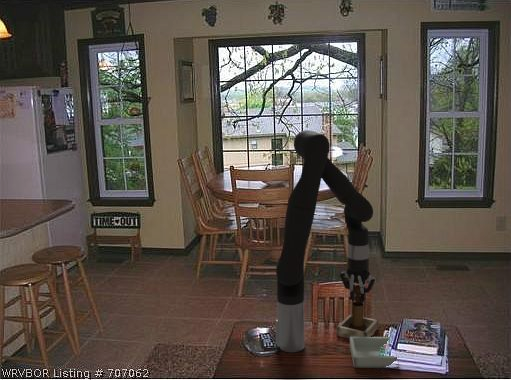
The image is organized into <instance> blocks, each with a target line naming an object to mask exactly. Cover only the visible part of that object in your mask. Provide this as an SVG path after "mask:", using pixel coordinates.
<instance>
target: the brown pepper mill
mask: <svg viewBox="0 0 511 380" xmlns="http://www.w3.org/2000/svg"><path fill="white" fill-rule="evenodd" d="M354 292H355V294H356V297H355V300H354V301H352V307H351V308H352V309H351V311H352V314H351V315H352V323H351V324H350V325H349V327H348V328H351V329H355V330H359V331H363V332H365V331H366V330H367V327H366V325H364V324H363V317H364V307H365V306H364V302H363V303H360V293H361V290H360V287H359V284H356V286H355V287H354Z"/></svg>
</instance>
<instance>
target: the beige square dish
mask: <svg viewBox="0 0 511 380" xmlns="http://www.w3.org/2000/svg"><path fill="white" fill-rule="evenodd" d="M351 323H352V314H348V316H347V317H346V318H345V319H344V320H342V322H340V323H339V324H338V325H337V326H336V336H337V337H341V338H346V339H349V340H350V337H371V336H372V337H373V335H374V334H375V333H376V332H377V331H378V330H377V329H379V320H378V319H375V318H369V317H366V316H365V317H364V316H363V324H364V325H366V327H367V330H366V331H365V332H363V331H359V330H355V329H351V328H349V325H350V324H351ZM376 330H377V331H376ZM375 331H376V332H375ZM374 332H375V333H374Z"/></svg>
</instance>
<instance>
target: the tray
mask: <svg viewBox="0 0 511 380" xmlns="http://www.w3.org/2000/svg"><path fill="white" fill-rule="evenodd" d="M390 337H391V336H372V337H350V339H349V349H350V354H351V359H352V364H353V368H358V369H359V368H363V369H364V368H367V369H369V368H370V369H372V368H373V369H384V368H383V367H386V366H389V365H391V364H392V363H393V362H394V361H395V360H396V359H397V357H394V356H379V353H380V347H381V346H382V345H384V344H386V343H387V341H388V340H389V341H390Z"/></svg>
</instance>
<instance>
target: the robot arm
mask: <svg viewBox="0 0 511 380" xmlns="http://www.w3.org/2000/svg"><path fill="white" fill-rule="evenodd" d="M293 147H294V151H295V153H296V154H297V155H298V156H299V157H300V158H302V159H303V162H302V163H303V164H302V169H301V170H302V171H301V174H300V177H299V179H298V181H297V183H296V185H295V186H294V188H293V189H292V190H291V193H290V194H289V198H288V200H287V207H286V211H285V219H284V231H283V232H284V233H283V234H284V235H283V245H282V248H281V253H280V257H279V258H278V259H277V261H276V268H275V273H276V281H277V283H276V285H277V286H276V302H277V303H276V305H277V308H276V309H277V319H276V320H275V323H274V324H275V325H274V326H275V345H276V344H277V345H279V347H280V349H279V350H280V351H282V352H286V353H298V352H300V351H303V350H304V349H305V347H306V346H305V345H306V344H305V343H306V341H305V340H306V339H305V337H306V335H305V266H304V265H305V263H304V261H305V253H306V247H307V242H308V240H309V238H310V237H309V236H310V234H311V230H312V228H313V222H314V219H315V214H316V208H317V201H318V197H319V192H320V188H321V187H320V186H321V181H323V182H324V183H325V184H326V186H327V187H328V188H329V190H330V191H331V193H332V194H333V195H334V196H335V198H336V199H337V200H338V202H340V203H341V204H342V205H344V209H343V215H344V220H345V225H346V228H347V231H348V235H347V236H348V238H347V243H348V244H347V256H346V257H347V262H346V263H347V270H345V271H341V273H339V276H340V279H341V282H342V284H343V286H344V289H346V290H349V299H350V301H352V302H355V297H356V294H355V292H354V287H355V286H356V285H359V287H360V290H361V293H360V303H363V304H364V302H365V301H366V299H367V296H366V295H367V294H369V292H371V291H372V289H373V287H374V285H375V283H376V281H377V277H376V276H375V277H374V276H372V275H371V272H370V246H369V234H370V233H369V229H368V228H367V227H366V226H365V225H364V224H363V223H366V222H369V221H371V219H372V218H373V216H374V208H373V206H372V204H371V203H370V201H369V200H368V199H367V198H366V197H365V196H364V195H363V194H361V193H360V192H359V191H358V190H357V189H356V188H355V186H354V185H353V183H352V181H350V179H349V178H348V177H347V175H346V174H345V173H344V172H343V171H342V170H341V169H339V168H338V167H337V166H336V164H334V162H332V160H331V159H330V158H329V155H330V147H331V146H330V141H329V139H328V137H327V136H326V135H324V134H322V133H320V132H317V131H314V130H307V129H305V130H302V131H299V133H297V134H296V136H295V137H294V140H293ZM367 280H368V283H369V284H368V285H367ZM279 347H278V348H279Z"/></svg>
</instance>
